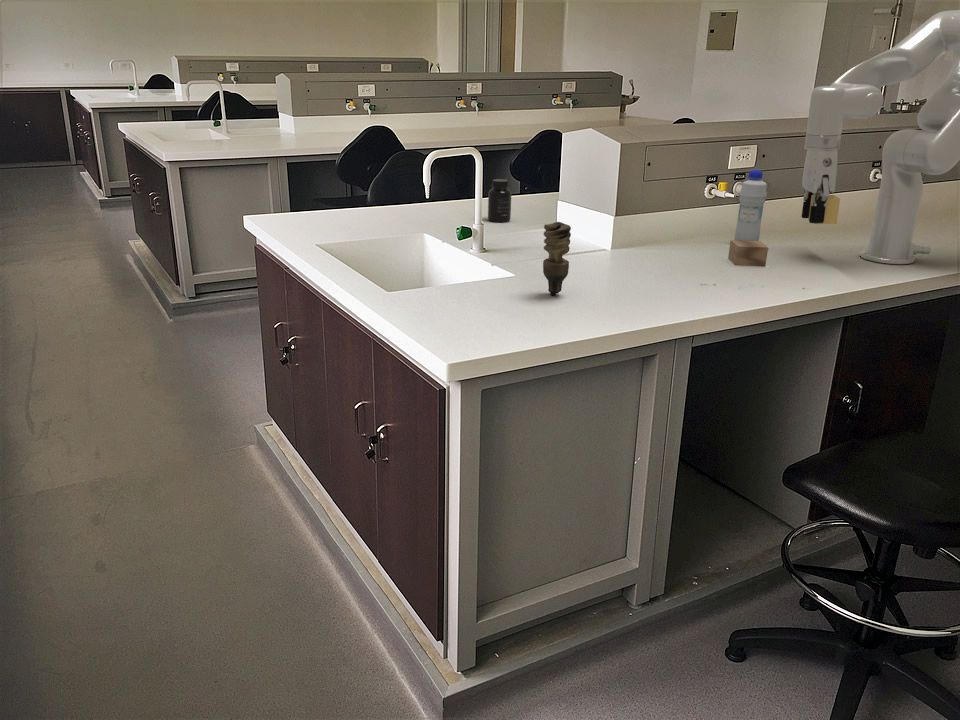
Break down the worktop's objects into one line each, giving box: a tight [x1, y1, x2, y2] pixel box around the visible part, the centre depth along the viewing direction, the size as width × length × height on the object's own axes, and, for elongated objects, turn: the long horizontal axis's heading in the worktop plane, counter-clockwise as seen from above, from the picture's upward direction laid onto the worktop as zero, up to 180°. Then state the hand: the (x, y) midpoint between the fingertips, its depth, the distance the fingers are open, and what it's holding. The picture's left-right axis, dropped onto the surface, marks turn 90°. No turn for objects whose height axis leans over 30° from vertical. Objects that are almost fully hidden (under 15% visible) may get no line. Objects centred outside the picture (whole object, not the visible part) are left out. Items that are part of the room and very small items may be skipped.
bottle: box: [733, 169, 768, 241], centre depth 207 cm, size 7×7×20 cm
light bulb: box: [542, 221, 572, 296], centre depth 159 cm, size 6×6×15 cm
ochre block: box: [807, 194, 841, 225], centre depth 188 cm, size 5×5×6 cm
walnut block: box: [728, 239, 769, 267], centre depth 186 cm, size 7×7×4 cm
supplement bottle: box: [487, 178, 512, 224], centre depth 233 cm, size 7×7×12 cm
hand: (812, 219), depth 189 cm, fingers closed on ochre block, 5 cm apart
